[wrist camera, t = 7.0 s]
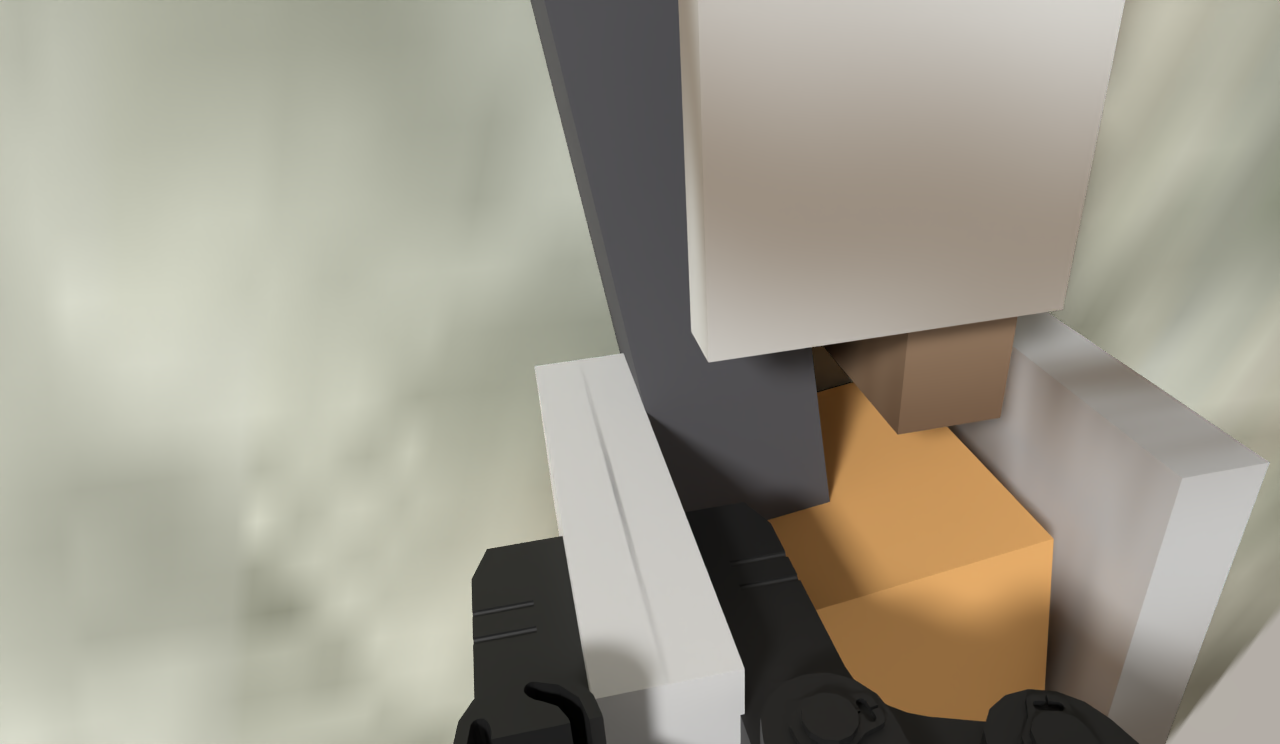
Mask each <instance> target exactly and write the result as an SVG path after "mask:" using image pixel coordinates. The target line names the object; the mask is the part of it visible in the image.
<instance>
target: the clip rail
mask: <svg viewBox="0 0 1280 744" xmlns="http://www.w3.org/2000/svg"><path fill="white" fill-rule="evenodd" d="M1124 4H1125V0H678V5H679V31H680V56H681V82H682V108H683V133H684V159H685V185H686V210H687V236H688V262H689V287H690V313H691V332H692V334H693V336H694V337H695V339H696V341H697V343H698V345H699V347H700V348H701V350H702V352H703V354H704V356H705V357H706V359H707V361H708V362H715V361H722V360H729V359H735V358H742V357H749V356H755V355H762V354H769V353H775V352H782V351H789V350H796V349H802V348H809V347H816V346H822V345H823V347H824V348H825V349H826V350H827V351H828V352H829V354H830V355H831V356H832V357H833V358H834V360H835V361H836V362H837V363H838V364H839V366H840V367H841V368H842V369H843V370H844V371H845V373H846V374H847V375H848V376H849V377H850V379H851V380H852V381H853V382H854V383H855V385H856V386H857V387H858V388H859V389H860V391H861V392H862V393H863V394H864V395H865V396H866V398H867V399H868V400H869V401H870V402H871V404H872V405H873V406H874V407H875V408H876V410H877V411H878V412H879V413H880V414H881V415H882V417H883V418H884V419H885V420H886V421H887V423H888V424H889V425H890V426H891V427H892V429H893V430H894V431H895V432H896V433H897V434H898V435H899V434H905V433H911V432H917V431H923V430H929V429H935V428H941V427H948V428H949V429H950V430H951V431H952V432H953V433H954V434H955V435H956V436H957V438H958V439H959V440H960V441H961V442H962V443H963V444H964V445H965V446H966V447H967V448H968V449H969V450H970V451H971V452H972V453H973V454H974V455H975V456H976V457H977V459H978V460H979V461H980V462H981V463H982V464H983V465H984V466H985V467H986V468H987V469H988V470H989V471H990V472H991V473H992V474H993V475H994V476H995V477H996V479H997V480H998V481H999V482H1000V483H1001V484H1002V485H1003V486H1004V487H1005V488H1006V489H1007V490H1008V491H1009V492H1010V493H1011V494H1012V495H1013V496H1014V497H1015V499H1016V500H1017V501H1018V502H1019V503H1020V504H1021V505H1022V506H1023V507H1024V508H1025V509H1026V510H1027V511H1028V512H1029V513H1030V514H1031V515H1032V516H1033V517H1034V518H1035V520H1036V521H1037V522H1038V523H1039V524H1040V525H1041V526H1042V527H1043V528H1044V529H1045V530H1046V531H1047V532H1048V533H1049V534H1050V535H1051V536H1052V537H1053V538H1054V543H1053V560H1052V576H1051V593H1050V610H1049V626H1048V643H1047V660H1046V676H1045V690H1047V691H1057V692H1060V693H1062V694H1065V695H1068V696H1071V697H1073V698H1076V699H1079V700H1082V701H1085V702H1086V703H1088V704H1089V705H1091V706H1092V707H1094V708H1095V709H1097V710H1098V711H1100V712H1101V713H1103V714H1104V715H1106V716H1107V717H1109V718H1110V719H1111V720H1113V721H1114V722H1115V723H1116V724H1117V725H1118V726H1119V727H1121V728H1122V729H1123V730H1124V731H1125V732H1126V733H1128V734H1129V735H1130V736H1131V737H1132V738H1133V739H1134V740H1136V741H1137V742H1138V743H1139V744H1165V743H1166V740H1167V738H1168V735H1169V732H1170V729H1171V727H1172V724H1173V721H1174V719H1175V716H1176V713H1177V711H1178V708H1179V705H1180V703H1181V700H1182V697H1183V694H1184V692H1185V689H1186V686H1187V684H1188V681H1189V678H1190V676H1191V673H1192V670H1193V668H1194V665H1195V662H1196V659H1197V657H1198V654H1199V651H1200V649H1201V646H1202V643H1203V641H1204V638H1205V635H1206V633H1207V630H1208V627H1209V625H1210V622H1211V619H1212V616H1213V614H1214V611H1215V608H1216V606H1217V603H1218V600H1219V598H1220V595H1221V592H1222V590H1223V587H1224V584H1225V581H1226V579H1227V576H1228V573H1229V571H1230V568H1231V565H1232V563H1233V560H1234V557H1235V555H1236V552H1237V549H1238V546H1239V544H1240V541H1241V538H1242V536H1243V533H1244V530H1245V528H1246V525H1247V522H1248V520H1249V517H1250V514H1251V511H1252V509H1253V506H1254V503H1255V501H1256V498H1257V495H1258V493H1259V490H1260V487H1261V485H1262V482H1263V479H1264V477H1265V474H1266V471H1267V468H1268V466H1269V463H1270V462H1268V461H1267V460H1265V459H1264V458H1262V457H1261V456H1259V455H1258V454H1257V453H1255V452H1254V451H1252V450H1251V449H1249V448H1248V447H1246V446H1245V445H1243V444H1242V443H1240V442H1239V441H1237V440H1236V439H1234V438H1233V437H1231V436H1230V435H1228V434H1227V433H1225V432H1224V431H1223V430H1221V429H1220V428H1218V427H1217V426H1215V425H1214V424H1212V423H1211V422H1209V421H1208V420H1206V419H1205V418H1203V417H1202V416H1200V415H1199V414H1197V413H1196V412H1194V411H1193V410H1191V409H1190V408H1189V407H1187V406H1186V405H1184V404H1183V403H1181V402H1180V401H1178V400H1177V399H1175V398H1174V397H1172V396H1171V395H1169V394H1168V393H1166V392H1165V391H1163V390H1162V389H1160V388H1159V387H1157V386H1156V385H1154V384H1153V383H1152V382H1150V381H1149V380H1147V379H1146V378H1144V377H1143V376H1141V375H1140V374H1138V373H1137V372H1135V371H1134V370H1132V369H1131V368H1129V367H1128V366H1126V365H1125V364H1123V363H1122V362H1120V361H1119V360H1118V359H1116V358H1115V357H1113V356H1112V355H1110V354H1109V353H1107V352H1106V351H1104V350H1103V349H1101V348H1100V347H1098V346H1097V345H1095V344H1094V343H1092V342H1091V341H1089V340H1088V339H1086V338H1085V337H1083V336H1082V335H1081V334H1079V333H1078V332H1076V331H1075V330H1073V329H1072V328H1070V327H1069V326H1067V325H1066V324H1064V323H1063V322H1061V321H1060V320H1058V319H1057V318H1055V317H1054V316H1052V315H1051V314H1049V313H1048V312H1050V311H1057V310H1063V307H1064V302H1065V297H1066V292H1067V287H1068V282H1069V277H1070V272H1071V267H1072V262H1073V257H1074V252H1075V247H1076V242H1077V237H1078V232H1079V227H1080V222H1081V217H1082V212H1083V207H1084V202H1085V197H1086V192H1087V187H1088V182H1089V177H1090V173H1091V168H1092V163H1093V158H1094V153H1095V148H1096V143H1097V138H1098V133H1099V128H1100V123H1101V118H1102V113H1103V108H1104V103H1105V98H1106V93H1107V88H1108V83H1109V78H1110V73H1111V68H1112V63H1113V58H1114V53H1115V48H1116V43H1117V39H1118V34H1119V29H1120V24H1121V19H1122V14H1123V9H1124Z"/></svg>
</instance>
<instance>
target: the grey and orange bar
mask: <svg viewBox="0 0 1280 744" xmlns="http://www.w3.org/2000/svg"><path fill="white" fill-rule="evenodd" d="M531 4H532V8H533V12H534V16H535V20H536V24H537V28H538V32H539V35H540V39H541V43H542V47H543V51H544V55H545V59H546V63H547V67H548V71H549V75H550V79H551V83H552V87H553V91H554V94H555V98H556V102H557V106H558V110H559V114H560V118H561V122H562V126H563V130H564V134H565V138H566V142H567V146H568V150H569V154H570V157H571V161H572V165H573V169H574V173H575V177H576V181H577V185H578V189H579V193H580V197H581V201H582V205H583V209H584V213H585V217H586V220H587V224H588V228H589V232H590V236H591V240H592V244H593V248H594V252H595V256H596V260H597V264H598V268H599V272H600V276H601V279H602V283H603V287H604V291H605V295H606V299H607V303H608V307H609V311H610V315H611V319H612V323H613V327H614V331H615V335H616V339H617V342H618V346H619V350H620V354H621V353H624V356H625V359H626V361H627V364H628V366H629V369H630V372H631V374H632V377H633V379H634V382H635V385H636V387H637V390H638V393H639V395H640V398H641V401H642V403H643V406H644V409H645V411H646V413H647V416H648V418H649V421H650V424H651V426H652V429H653V432H654V434H655V437H656V439H657V442H658V445H659V447H660V450H661V452H662V455H663V458H664V460H665V463H666V465H667V468H668V471H669V473H670V476H671V478H672V481H673V484H674V486H675V489H676V491H677V494H678V497H679V499H680V502H681V504H682V507H683V510H684V512H689V511H695V510H700V509H706V508H712V507H718V506H723V505H729V504H735V503H740V502H744V503H746V504H747V505H748V506H750V507H751V508H752V509H753V510H755V511H756V512H757V513H758V514H760V515H761V516H762V517H763V518H765V519H766V520H767V521H769V522H770V523H771V525H772V526H773V528H774V530H775V532H776V534H777V536H778V538H779V540H780V542H781V544H782V546H783V548H784V550H785V554H786V557H789V559H790V561H791V563H792V565H793V567H794V569H795V571H796V573H797V577H798V580H801V582H802V584H803V586H804V588H805V590H806V592H807V594H808V596H809V598H810V600H811V602H812V604H813V606H814V607H815V609H816V611H817V613H818V615H819V617H820V619H821V621H822V623H823V625H824V627H825V629H826V631H827V633H828V634H829V636H830V638H831V640H832V642H833V644H834V646H835V648H836V650H837V652H838V654H839V656H840V658H841V660H842V661H843V663H844V665H845V667H846V668H847V670H848V671H849V673H850V674H851V676H852V677H853V679H854V680H856V681H858V682H859V683H861V684H862V685H864V686H866V687H867V688H869V689H870V690H872V691H873V692H875V693H877V694H878V696H879V697H880V698H881V699H882V701H883V702H884V703H885V704H887V705H889V706H892V707H894V708H897V709H899V710H902V711H905V712H907V713H912V714H918V715H923V716H929V717H939V718H951V719H962V720H974V721H985V722H986V719H987V716H988V712H989V709H990V708H991V707H992V706H993V705H994V704H996V703H997V702H998V701H999V700H1000V699H1001V698H1002V697H1004V696H1005V695H1007V694H1011V693H1015V692H1019V691H1023V690H1026V689H1035V690H1045V676H1046V660H1047V643H1048V626H1049V610H1050V593H1051V576H1052V560H1053V543H1054V538H1053V537H1052V536H1051V535H1050V534H1049V533H1048V532H1047V531H1046V530H1045V529H1044V528H1043V527H1042V526H1041V525H1040V524H1039V523H1038V522H1037V521H1036V520H1035V518H1034V517H1033V516H1032V515H1031V514H1030V513H1029V512H1028V511H1027V510H1026V509H1025V508H1024V507H1023V506H1022V505H1021V504H1020V503H1019V502H1018V501H1017V500H1016V499H1015V497H1014V496H1013V495H1012V494H1011V493H1010V492H1009V491H1008V490H1007V489H1006V488H1005V487H1004V486H1003V485H1002V484H1001V483H1000V482H999V481H998V480H997V479H996V477H995V476H994V475H993V474H992V473H991V472H990V471H989V470H988V469H987V468H986V467H985V466H984V465H983V464H982V463H981V462H980V461H979V460H978V459H977V457H976V456H975V455H974V454H973V453H972V452H971V451H970V450H969V449H968V448H967V447H966V446H965V445H964V444H963V443H962V442H961V441H960V440H959V439H958V438H957V436H956V435H955V434H954V433H953V432H952V431H951V430H950V429H949V428H948V427H941V428H935V429H929V430H923V431H917V432H911V433H905V434H899V435H898V434H897V433H896V432H895V431H894V430H893V429H892V427H891V426H890V425H889V424H888V423H887V421H886V420H885V419H884V418H883V417H882V415H881V414H880V413H879V412H878V411H877V410H876V408H875V407H874V406H873V405H872V404H871V402H870V401H869V400H868V399H867V398H866V396H865V395H864V394H863V393H862V392H861V391H860V389H859V388H858V387H857V386H856V385H855V383H854V382H853V383H849V384H846V385H842V386H839V387H835V388H832V389H828V390H825V391H821V392H818V393H817V390H816V382H815V373H814V365H813V356H812V348H811V347H809V348H802V349H796V350H789V351H782V352H775V353H769V354H762V355H755V356H749V357H742V358H735V359H729V360H722V361H715V362H708V361H707V359H706V357H705V356H704V354H703V352H702V350H701V348H700V347H699V345H698V343H697V341H696V339H695V337H694V336H693V334H692V332H691V313H690V287H689V262H688V236H687V210H686V185H685V159H684V133H683V108H682V82H681V56H680V31H679V5H678V0H531Z"/></svg>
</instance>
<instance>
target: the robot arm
mask: <svg viewBox="0 0 1280 744" xmlns="http://www.w3.org/2000/svg"><path fill="white" fill-rule="evenodd" d="M535 373H536V380H537V387H538V394H539V401H540V408H541V415H542V422H543V429H544V436H545V443H546V450H547V457H548V464H549V471H550V478H551V485H552V492H553V499H554V506H555V511H556V517H557V523H558V529H559V535H560V537H554V538H548V539H543V540H537V541H531V542H526V543H520V544H514V545H508V546H503V547H497V548H491V549H487V550H486V552H485V554H484V556H483V558H482V560H481V562H480V564H479V566H478V568H477V570H476V572H475V574H474V576H473V578H472V612H473V640H474V645H473V656H474V697H475V699H474V700H473V701H472V703H471V704H470V706H469V707H468V709H467V710H466V711H465V713H464V714H463V716H462V717H461V719H460V720H459V722H458V726H457V730H456V734H455V739H454V743H453V744H1139V743H1138V742H1137V741H1136V740H1134V739H1133V738H1132V737H1131V736H1130V735H1129V734H1128V733H1126V732H1125V731H1124V730H1123V729H1122V728H1121V727H1119V726H1118V725H1117V724H1116V723H1115V722H1114V721H1113V720H1111V719H1110V718H1109V717H1107V716H1106V715H1104V714H1103V713H1101V712H1100V711H1098V710H1097V709H1095V708H1094V707H1092V706H1091V705H1089V704H1088V703H1086V702H1085V701H1082V700H1079V699H1076V698H1073V697H1071V696H1068V695H1065V694H1062V693H1060V692H1057V691H1047V690H1035V689H1026V690H1023V691H1019V692H1015V693H1011V694H1007V695H1005V696H1004V697H1002V698H1001V699H1000V700H999V701H998V702H997V703H996V704H994V705H993V706H992V707H991V708H990V709H989V712H988V716H987V719H986V722H985V721H974V720H962V719H951V718H939V717H929V716H923V715H918V714H912V713H907V712H905V711H902V710H899V709H897V708H894V707H892V706H889V705H887V704H885V703H884V702H883V701H882V699H881V698H880V697H879V696H878V694H877V693H875V692H873V691H872V690H870V689H869V688H867V687H866V686H864V685H862V684H861V683H859V682H858V681H856V680H854V679H853V677H852V676H851V674H850V673H849V671H848V670H847V668H846V667H845V665H844V663H843V661H842V660H841V658H840V656H839V654H838V652H837V650H836V648H835V646H834V644H833V642H832V640H831V638H830V636H829V634H828V633H827V631H826V629H825V627H824V625H823V623H822V621H821V619H820V617H819V615H818V613H817V611H816V609H815V607H814V606H813V604H812V602H811V600H810V598H809V596H808V594H807V592H806V590H805V588H804V586H803V584H802V582H801V580H798V577H797V573H796V571H795V569H794V567H793V565H792V563H791V561H790V559H789V557H786V554H785V550H784V548H783V546H782V544H781V542H780V540H779V538H778V536H777V534H776V532H775V530H774V528H773V526H772V525H771V523H770V522H769V521H767V520H766V519H765V518H763V517H762V516H761V515H760V514H758V513H757V512H756V511H755V510H753V509H752V508H751V507H750V506H748V505H747V504H746V503H744V502H740V503H735V504H729V505H723V506H718V507H712V508H706V509H700V510H695V511H689V512H684V510H683V507H682V504H681V502H680V499H679V497H678V494H677V491H676V489H675V486H674V484H673V481H672V478H671V476H670V473H669V471H668V468H667V465H666V463H665V460H664V458H663V455H662V452H661V450H660V447H659V445H658V442H657V439H656V437H655V434H654V432H653V429H652V426H651V424H650V421H649V418H648V416H647V413H646V411H645V409H644V406H643V403H642V401H641V398H640V395H639V393H638V390H637V387H636V385H635V382H634V379H633V377H632V374H631V372H630V369H629V366H628V364H627V361H626V359H625V356H624V353H621V354H614V355H608V356H601V357H594V358H587V359H580V360H573V361H566V362H559V363H553V364H546V365H539V366H535Z"/></svg>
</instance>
